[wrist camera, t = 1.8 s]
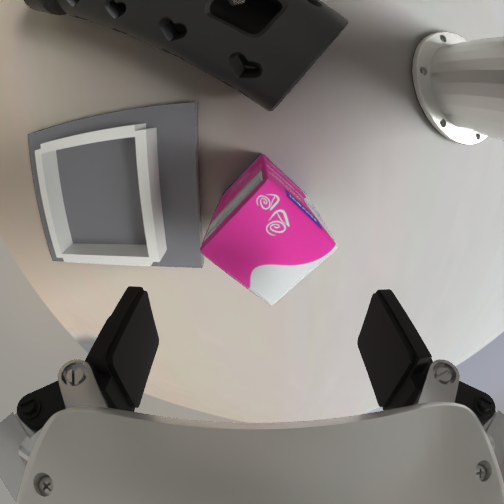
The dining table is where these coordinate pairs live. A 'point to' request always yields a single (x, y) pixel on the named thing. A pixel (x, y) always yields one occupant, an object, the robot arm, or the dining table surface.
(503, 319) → the dining table surface
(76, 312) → the dining table surface
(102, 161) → the socket plate
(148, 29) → the muzzle brake
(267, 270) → the supplement box
